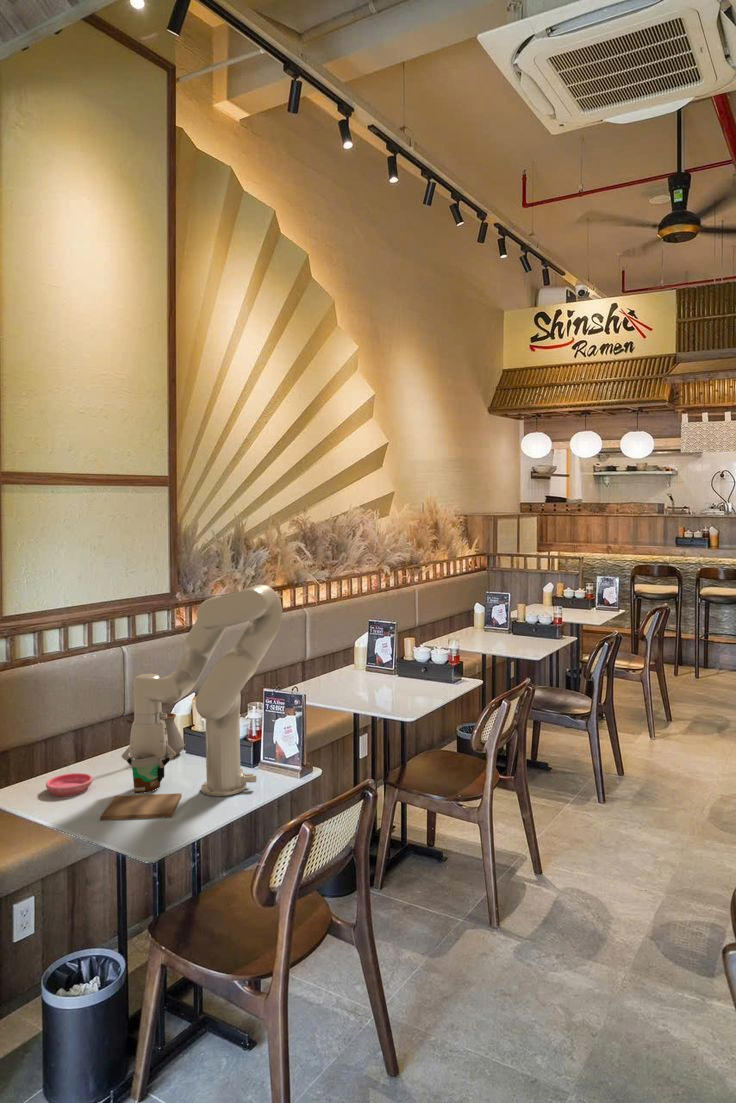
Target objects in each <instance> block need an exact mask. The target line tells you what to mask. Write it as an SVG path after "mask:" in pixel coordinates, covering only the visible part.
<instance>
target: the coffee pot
mask: <svg viewBox="0 0 736 1103" xmlns="http://www.w3.org/2000/svg"><path fill="white" fill-rule="evenodd" d="M163 713H164V714H167V718H164V719H162V721H165V724H166V730H167V739H168V745H169V746H170V747H171V748H172V749H173V750H174V751H175V752H176V755H177V756H179V755H180V753H181V752H182V751H183V750H184V749H185V746H186V744H184V743H185V741H184V739H183V737H182V735H181V733H180V731H179V729H178V726H177V725H176V721H175V718H176V717H177V714H175V713H172V712H171V713H170V712H167V713H166V712H163ZM123 721H124V724H123ZM126 722H128V724H133V722H134V719H131V718H123V719H122V720H121V722H120V725H121V726H125V725H126ZM176 755H175V757H177V756H176ZM167 756H169V753H168V752H167V753H165V756H164V759H165V758H166V757H167Z"/></svg>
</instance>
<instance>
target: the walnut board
mask: <svg viewBox="0 0 736 1103" xmlns="http://www.w3.org/2000/svg"><path fill="white" fill-rule="evenodd" d="M181 799H182V793H180V792H179V793H158V794H157V793H156V794H155V793H153V794H134V795H133V794H132V795H131V794H130V795H129V794H128V795H115V796H114V797H113V798H112V799H111V801H110V802H109V803H108V805H107V807H106V808H105V809H104V811H103V812H102V813H101V815H100V821H107V820H108V821H109V820H110V821H112V820H113V819H114V820H134V818H135V819H136V818H138V819H154V818H156V819H159V818H160V819H162V818H173V815H174V814H175V812H176V809H177V807H178V805H179V803H180V801H181Z"/></svg>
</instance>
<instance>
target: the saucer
mask: <svg viewBox="0 0 736 1103" xmlns="http://www.w3.org/2000/svg"><path fill="white" fill-rule="evenodd" d="M93 781H94V778H93V776H92V775H91V774H89V773H81V772H78V773H77V772H74V773H72V772H71V773H65V774H64V773H63V774H60V775H57V776H54V777H52V778H49V779H48V780H47V781H46V782H45V787H46V789H47V790H48V791H49V792H51V794H52V795H53V796H57V797H69V796H70V795H71V796H75V794H76V795H78V794H82V793H84V792H85V791H87V790H88V788H89V787H90V786H91V785H92V783H93ZM81 792H82V793H81ZM71 796H70V797H71Z"/></svg>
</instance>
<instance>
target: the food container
mask: <svg viewBox="0 0 736 1103" xmlns="http://www.w3.org/2000/svg"><path fill="white" fill-rule="evenodd" d="M162 760H163V758H162ZM159 762H161V761H160V758H157V756H153V757H150V758H142V759H134V758H133V759H132V762H131V765H130V768H131V769H132V781H133V791H134V794H145V793H144V792H146V793H151V792H154V791H156V790H158V789H159V788H160V787H161V782H158V768H159V764H158V763H159ZM157 788H158V789H157ZM155 789H156V790H155ZM153 790H154V791H153ZM150 791H151V792H150Z"/></svg>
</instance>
